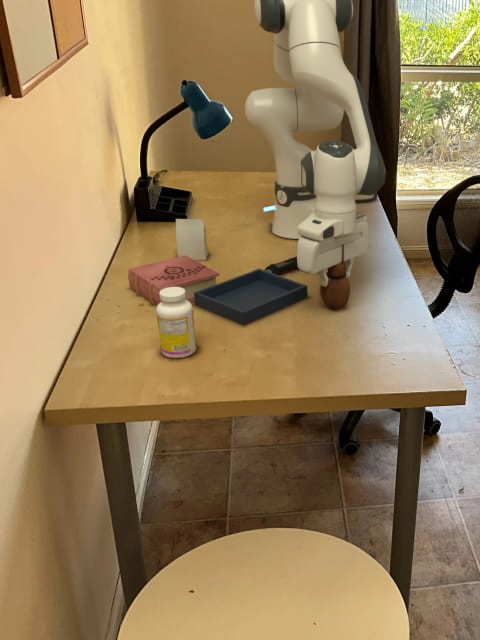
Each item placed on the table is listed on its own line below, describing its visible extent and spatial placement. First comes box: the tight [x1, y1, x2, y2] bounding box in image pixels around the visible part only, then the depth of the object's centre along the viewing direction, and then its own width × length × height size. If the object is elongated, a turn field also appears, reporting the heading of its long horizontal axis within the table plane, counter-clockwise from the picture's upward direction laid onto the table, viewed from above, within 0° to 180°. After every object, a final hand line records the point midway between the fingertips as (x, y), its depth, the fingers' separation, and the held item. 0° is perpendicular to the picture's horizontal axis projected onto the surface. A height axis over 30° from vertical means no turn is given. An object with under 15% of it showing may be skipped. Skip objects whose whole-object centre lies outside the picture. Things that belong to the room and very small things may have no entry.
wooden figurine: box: [319, 245, 351, 310], centre depth 165 cm, size 7×6×15 cm
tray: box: [194, 268, 309, 326], centre depth 168 cm, size 20×16×3 cm
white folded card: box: [175, 218, 209, 261], centre depth 189 cm, size 4×7×10 cm, turn 95°
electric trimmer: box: [264, 256, 300, 276], centre depth 186 cm, size 4×16×3 cm, turn 143°
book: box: [127, 255, 220, 307], centre depth 171 cm, size 14×15×5 cm
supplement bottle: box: [155, 287, 197, 359], centre depth 144 cm, size 7×7×13 cm
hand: (335, 281), depth 166 cm, fingers closed on wooden figurine, 5 cm apart
